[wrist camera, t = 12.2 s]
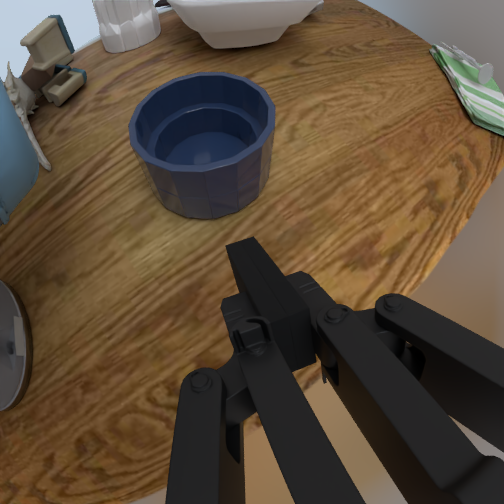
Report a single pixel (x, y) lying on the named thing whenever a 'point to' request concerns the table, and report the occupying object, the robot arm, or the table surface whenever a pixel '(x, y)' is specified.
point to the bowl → (241, 19)
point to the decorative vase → (126, 23)
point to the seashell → (24, 109)
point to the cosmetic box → (317, 7)
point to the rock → (162, 3)
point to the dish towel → (473, 90)
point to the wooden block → (36, 75)
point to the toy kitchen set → (54, 59)
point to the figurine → (484, 71)
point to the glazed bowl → (205, 142)
